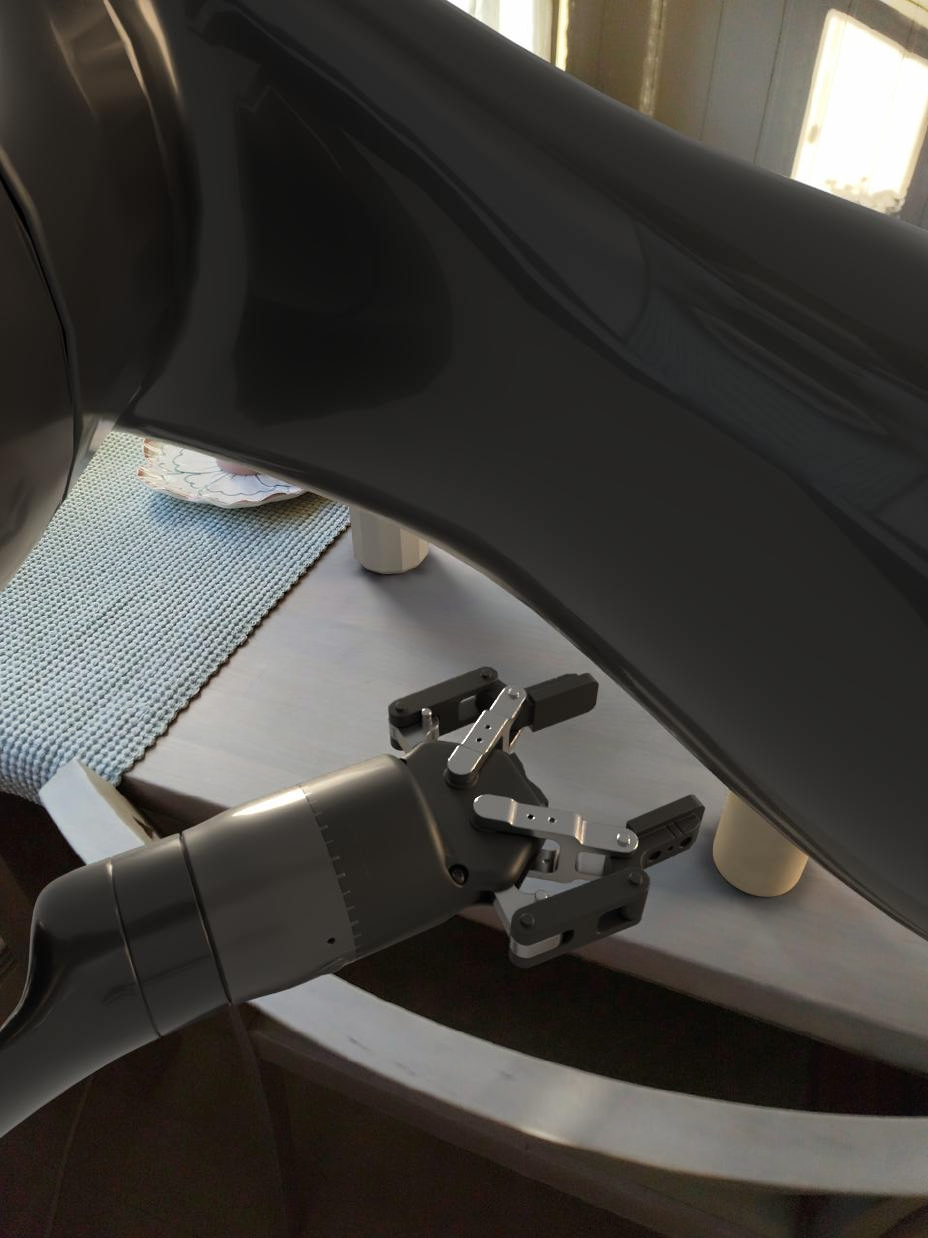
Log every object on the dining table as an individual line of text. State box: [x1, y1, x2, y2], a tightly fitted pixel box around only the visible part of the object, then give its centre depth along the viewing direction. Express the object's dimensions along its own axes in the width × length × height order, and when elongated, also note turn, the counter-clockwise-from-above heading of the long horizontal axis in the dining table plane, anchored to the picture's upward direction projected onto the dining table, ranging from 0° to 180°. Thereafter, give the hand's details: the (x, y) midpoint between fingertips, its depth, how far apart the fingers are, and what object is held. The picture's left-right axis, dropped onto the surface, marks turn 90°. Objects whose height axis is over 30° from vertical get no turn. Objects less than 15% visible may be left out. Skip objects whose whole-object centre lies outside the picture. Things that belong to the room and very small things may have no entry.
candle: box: [712, 789, 810, 898], centre depth 52 cm, size 6×6×10 cm
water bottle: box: [348, 506, 430, 575], centre depth 74 cm, size 9×8×25 cm
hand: (641, 746), depth 41 cm, fingers open, 8 cm apart
